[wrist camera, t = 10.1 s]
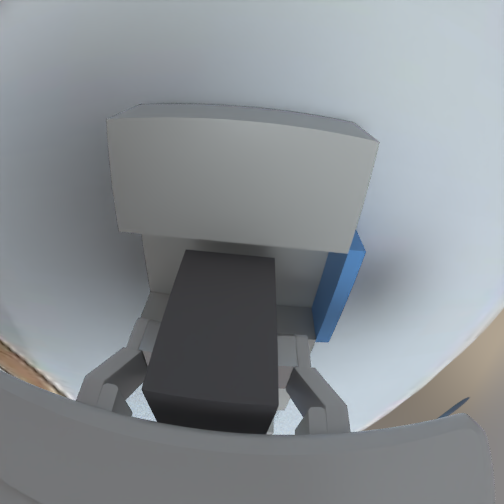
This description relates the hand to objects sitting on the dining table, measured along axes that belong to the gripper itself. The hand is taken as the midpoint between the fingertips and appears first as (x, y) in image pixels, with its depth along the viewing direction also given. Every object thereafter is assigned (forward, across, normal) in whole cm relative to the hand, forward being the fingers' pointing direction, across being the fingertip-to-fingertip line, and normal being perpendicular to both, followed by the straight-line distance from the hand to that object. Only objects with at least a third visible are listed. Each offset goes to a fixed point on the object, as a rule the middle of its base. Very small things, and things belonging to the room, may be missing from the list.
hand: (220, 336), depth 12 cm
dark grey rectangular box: (+3, 0, 0) cm, 3 cm away
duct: (+6, 0, +9) cm, 11 cm away
